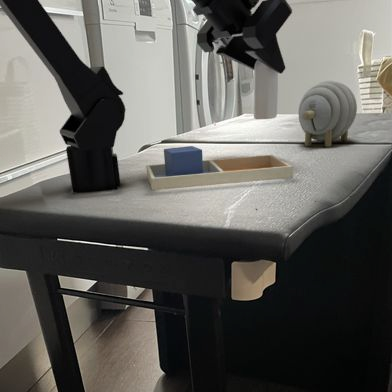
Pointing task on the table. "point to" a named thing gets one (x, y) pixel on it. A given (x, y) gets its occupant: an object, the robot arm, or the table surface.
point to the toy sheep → (327, 112)
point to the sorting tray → (223, 172)
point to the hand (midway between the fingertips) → (273, 71)
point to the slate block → (183, 161)
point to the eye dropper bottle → (265, 91)
